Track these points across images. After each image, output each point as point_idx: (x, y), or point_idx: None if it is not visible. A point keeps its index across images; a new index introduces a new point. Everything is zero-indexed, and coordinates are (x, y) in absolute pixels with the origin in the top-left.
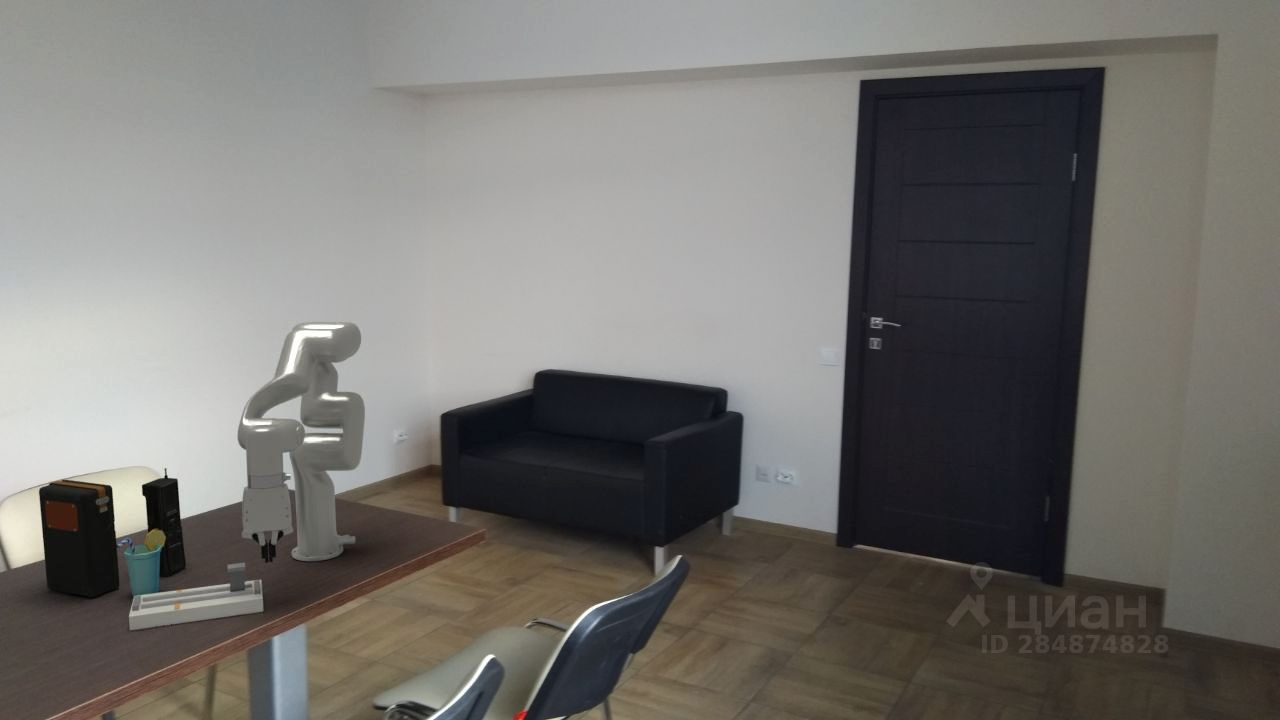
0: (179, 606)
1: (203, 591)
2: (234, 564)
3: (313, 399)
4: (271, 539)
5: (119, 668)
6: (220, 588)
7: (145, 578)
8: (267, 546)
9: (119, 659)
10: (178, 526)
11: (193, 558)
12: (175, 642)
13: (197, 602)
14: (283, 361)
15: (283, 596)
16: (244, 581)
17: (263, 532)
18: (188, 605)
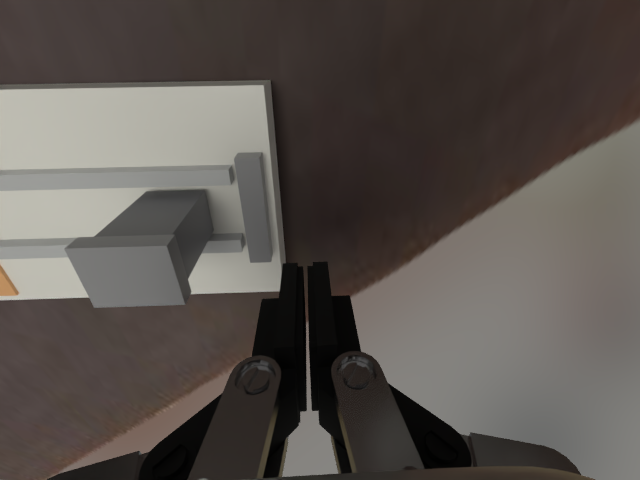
0: (8, 284)
1: (30, 187)
2: (109, 258)
3: None
4: (336, 462)
5: (39, 418)
6: (98, 187)
7: None
8: (302, 409)
9: (14, 393)
10: None
11: None
12: (101, 360)
13: (58, 260)
14: None
15: (350, 163)
16: (201, 253)
17: (262, 473)
18: (36, 275)
